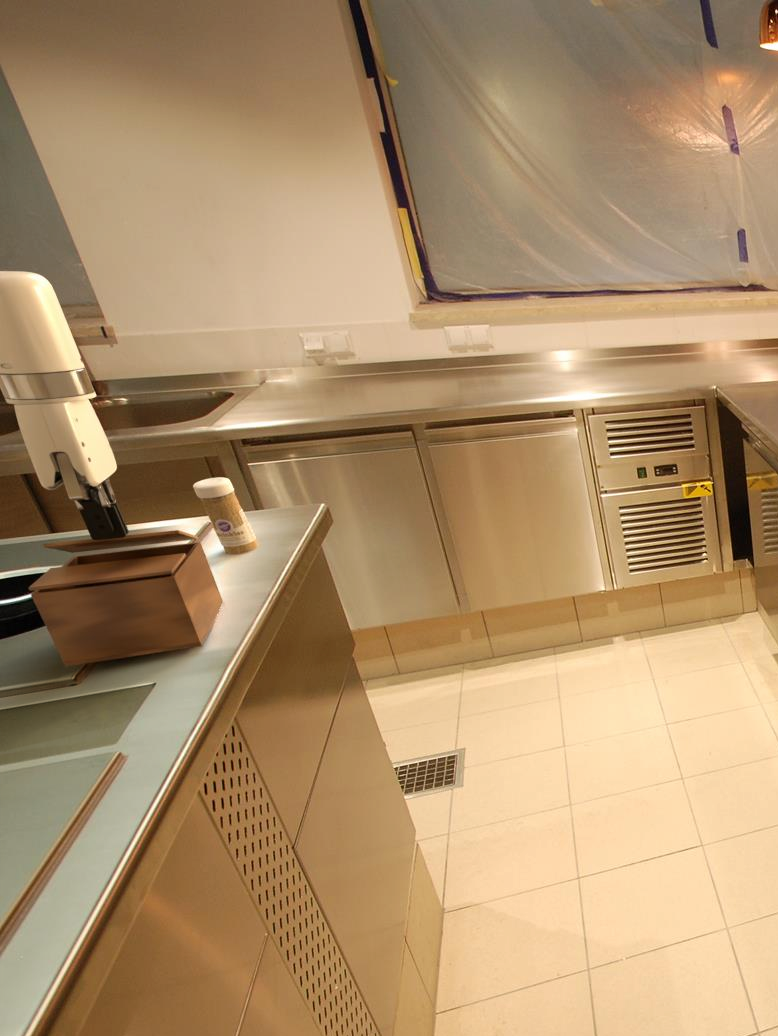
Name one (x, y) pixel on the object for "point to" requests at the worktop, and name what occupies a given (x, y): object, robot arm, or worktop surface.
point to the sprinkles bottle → (226, 515)
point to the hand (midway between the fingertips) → (111, 536)
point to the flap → (122, 541)
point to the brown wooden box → (128, 602)
